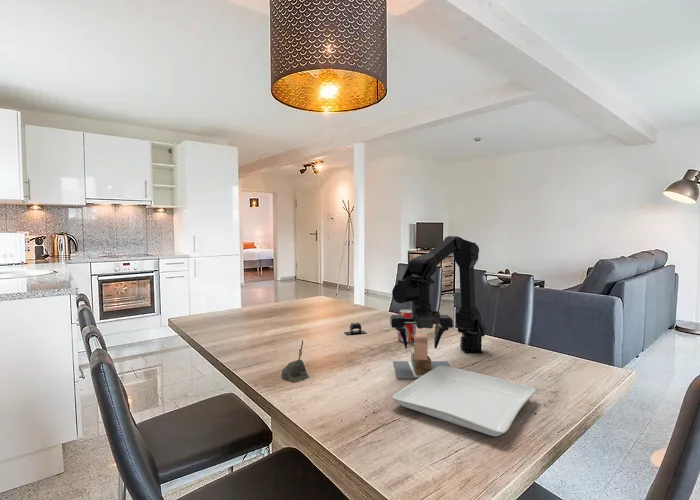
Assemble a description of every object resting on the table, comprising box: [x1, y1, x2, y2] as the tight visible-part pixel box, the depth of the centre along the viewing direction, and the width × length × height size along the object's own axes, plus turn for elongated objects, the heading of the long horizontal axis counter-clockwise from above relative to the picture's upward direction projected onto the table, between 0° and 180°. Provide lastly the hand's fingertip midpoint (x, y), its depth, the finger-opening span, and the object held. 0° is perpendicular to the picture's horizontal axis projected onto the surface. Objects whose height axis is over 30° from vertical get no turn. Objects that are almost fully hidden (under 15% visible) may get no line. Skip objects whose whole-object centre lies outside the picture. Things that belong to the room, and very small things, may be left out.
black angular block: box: [343, 322, 368, 337], centre depth 162 cm, size 12×7×5 cm, turn 107°
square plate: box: [391, 365, 537, 437], centre depth 96 cm, size 27×27×4 cm
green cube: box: [410, 348, 414, 367], centre depth 123 cm, size 4×4×4 cm
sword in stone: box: [280, 340, 310, 384], centre depth 116 cm, size 10×8×12 cm
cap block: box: [413, 333, 429, 360], centre depth 119 cm, size 4×10×5 cm, turn 169°
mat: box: [392, 360, 453, 381], centre depth 119 cm, size 18×14×1 cm
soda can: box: [397, 308, 417, 344], centre depth 151 cm, size 7×7×12 cm
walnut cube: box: [414, 355, 432, 375], centre depth 116 cm, size 4×4×4 cm
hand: (420, 348), depth 119 cm, fingers open, 9 cm apart
